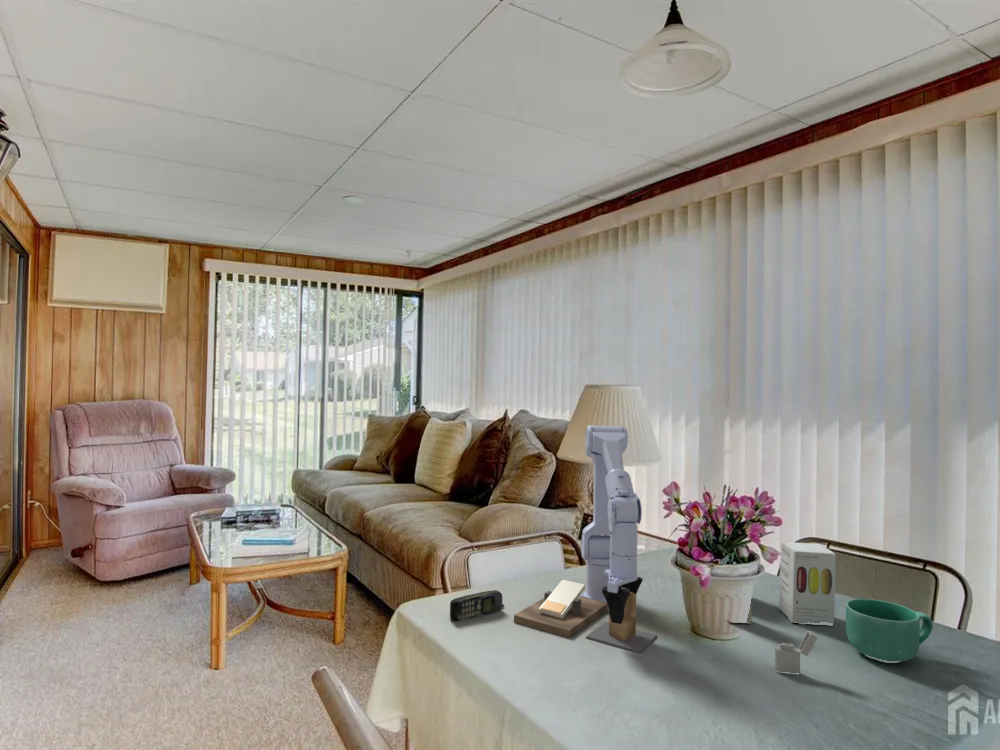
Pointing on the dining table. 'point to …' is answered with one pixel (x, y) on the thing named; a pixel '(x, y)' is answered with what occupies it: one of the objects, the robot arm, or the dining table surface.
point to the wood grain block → (625, 620)
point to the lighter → (793, 654)
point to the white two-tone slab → (561, 598)
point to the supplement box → (807, 582)
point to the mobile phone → (475, 605)
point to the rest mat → (631, 644)
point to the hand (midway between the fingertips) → (622, 616)
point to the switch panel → (571, 622)
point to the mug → (885, 629)
